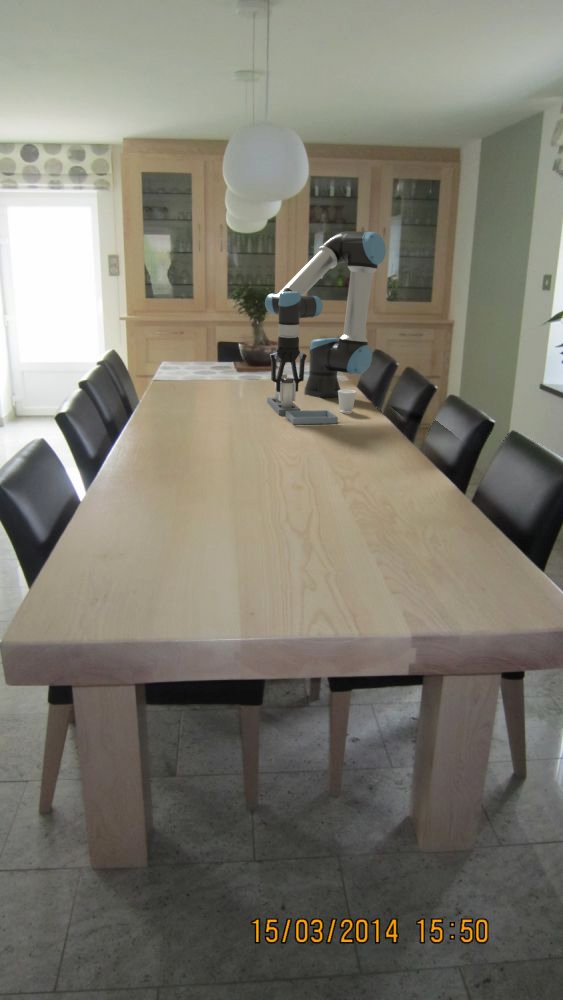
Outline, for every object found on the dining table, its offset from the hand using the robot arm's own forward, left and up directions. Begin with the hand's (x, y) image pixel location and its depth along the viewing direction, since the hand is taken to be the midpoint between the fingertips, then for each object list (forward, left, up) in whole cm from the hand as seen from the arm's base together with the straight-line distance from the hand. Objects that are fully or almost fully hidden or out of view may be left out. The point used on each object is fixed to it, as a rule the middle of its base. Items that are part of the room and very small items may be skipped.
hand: (286, 400), depth 276 cm
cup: (-23, 0, -5) cm, 23 cm away
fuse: (0, -11, -4) cm, 12 cm away
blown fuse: (0, 0, -4) cm, 4 cm away
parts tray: (-6, +14, -5) cm, 16 cm away
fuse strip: (0, -5, -5) cm, 7 cm away
